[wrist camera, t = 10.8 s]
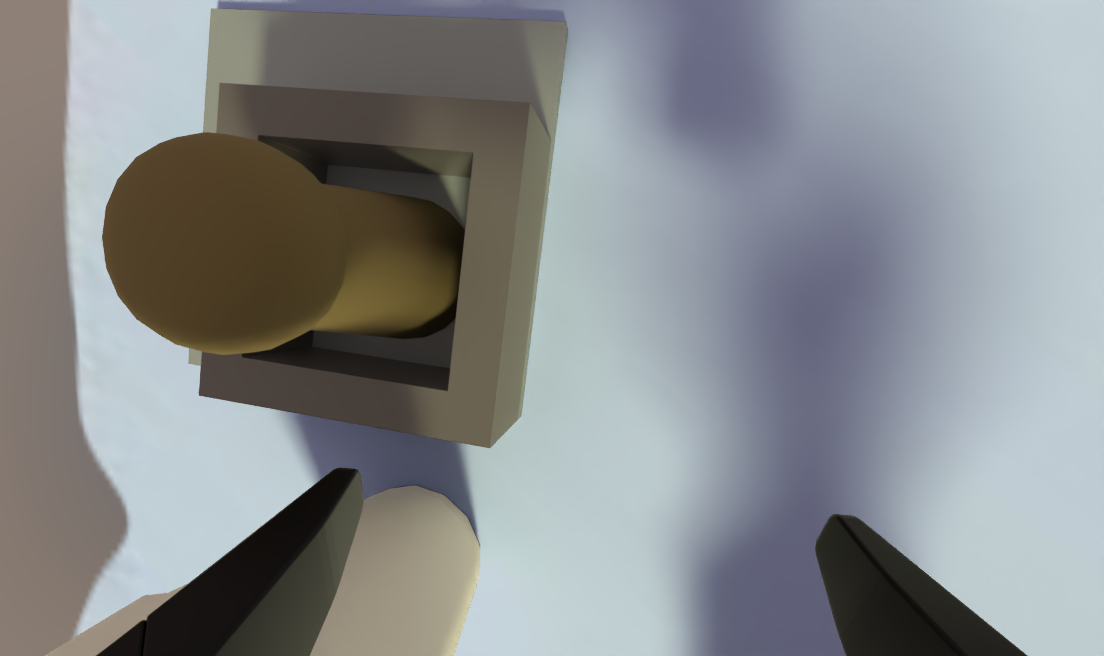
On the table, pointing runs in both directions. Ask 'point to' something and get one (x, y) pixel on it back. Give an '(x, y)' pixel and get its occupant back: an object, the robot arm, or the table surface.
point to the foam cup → (372, 584)
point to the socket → (409, 170)
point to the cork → (272, 250)
